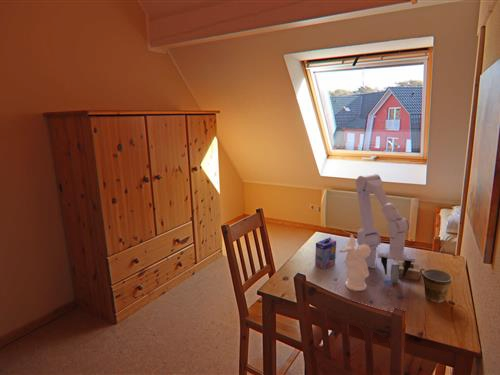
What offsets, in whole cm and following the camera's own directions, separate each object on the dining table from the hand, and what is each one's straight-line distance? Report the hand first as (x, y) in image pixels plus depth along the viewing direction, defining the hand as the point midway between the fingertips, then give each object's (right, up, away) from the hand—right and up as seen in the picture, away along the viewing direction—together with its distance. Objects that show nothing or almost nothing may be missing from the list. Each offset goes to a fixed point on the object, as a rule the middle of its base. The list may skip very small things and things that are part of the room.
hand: (394, 274), depth 139 cm
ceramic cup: (+10, -6, -11) cm, 16 cm away
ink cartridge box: (-26, 0, +18) cm, 32 cm away
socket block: (+9, -1, +6) cm, 11 cm away
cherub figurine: (-20, -4, -2) cm, 20 cm away
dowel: (0, -3, +1) cm, 3 cm away
